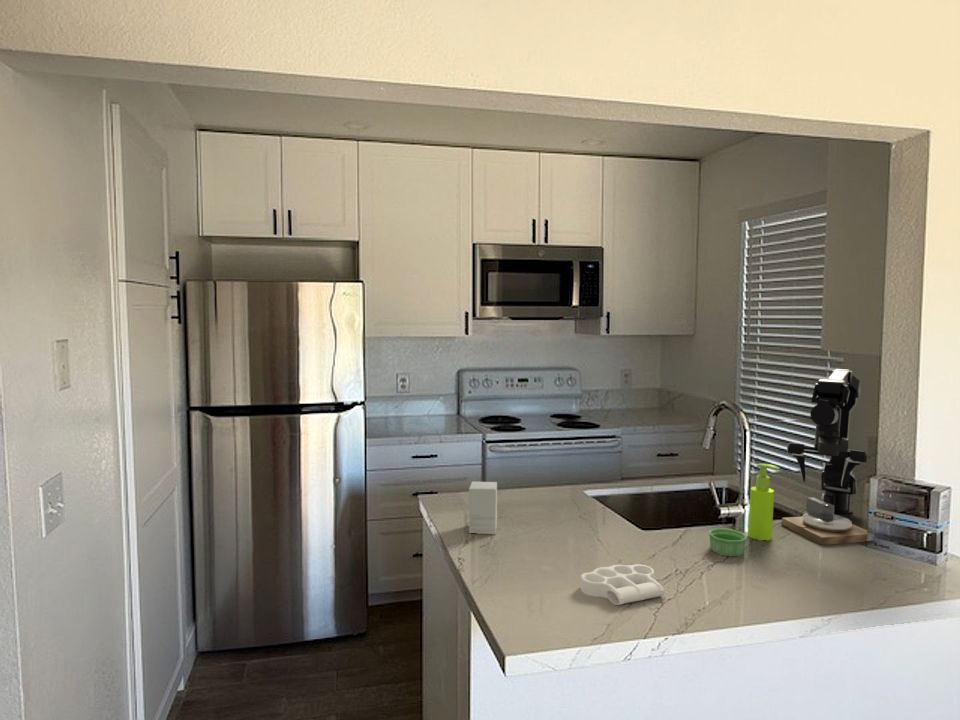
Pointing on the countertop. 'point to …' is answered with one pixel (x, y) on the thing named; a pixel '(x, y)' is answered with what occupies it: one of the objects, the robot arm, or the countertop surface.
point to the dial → (824, 517)
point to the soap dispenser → (761, 506)
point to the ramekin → (727, 541)
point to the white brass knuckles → (622, 583)
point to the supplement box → (483, 507)
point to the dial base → (825, 532)
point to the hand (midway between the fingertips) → (822, 484)
